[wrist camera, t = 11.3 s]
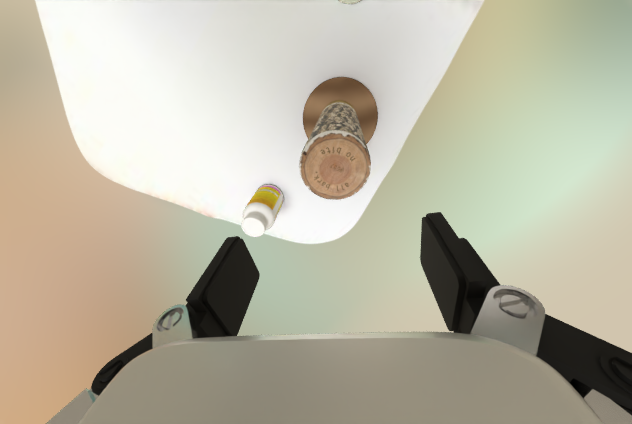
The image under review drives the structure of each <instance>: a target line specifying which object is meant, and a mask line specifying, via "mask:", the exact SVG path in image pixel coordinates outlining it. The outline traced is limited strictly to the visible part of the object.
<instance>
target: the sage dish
mask: <svg viewBox="0 0 632 424" xmlns="http://www.w3.org/2000/svg"><path fill="white" fill-rule="evenodd" d="M339 1H340V2H342V3H345V4H354V3H358V2H360V1H362V0H339Z"/></svg>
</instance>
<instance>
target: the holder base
mask: <svg viewBox="0 0 632 424" xmlns="http://www.w3.org/2000/svg"><path fill="white" fill-rule="evenodd" d="M337 100H342V101H346V102H348V103H349V104H351V105H352V106H353V108H354V109H355V111H356V114H357V117H358V120H359V123H360V126H361V130H362V133H363V136H364V139H365V142H366V144H367V143H368V142H369V140H370V139H371V137H372V136H373V134H374V131H375V129H376V125H377V119H378V112H377V106H376V102H375V100H374V97H373V96H372V94H371V92H370V91H369V90H368V89H367V88H366V87H365V86H364V85H363V84H362V83H360V82H359V81H356V80H354V79H351V78H346V77H337V78H332V79H329V80H327V81H325V82H323V83H322V84H320V85H319V86H318V87H317V88H315V89H314V91H313V92H312V93H311V94H310V96H309V98H308V100H307V102H306V104H305V107H304V112H303V125H304V130H305V133H306V135H307V137H308V139H309V137H310V135H311V133H312V131H313V129H314V127H315V125H316V123H317V121H318V119H319V117H320V115H321V113H322V111H323V110H324V108H325V107H326V106H327V105H328V104H329V103H331V102H333V101H337Z"/></svg>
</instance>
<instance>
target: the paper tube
mask: <svg viewBox="0 0 632 424" xmlns="http://www.w3.org/2000/svg"><path fill="white" fill-rule="evenodd" d="M299 169H300V174H301V177H302V180H303V182H304V183H305V185H306V186H307V187H308V188H309V189H310V190H311V191H312V192H313V193H315V194H316V195H318V196H320V197H323V198H326V199H333V200H337V199H344V198H347V197H350V196H352V195H354V194H355V193H357V192H358V191H359V190H360V189H361V188H362V187H363V186H364V185H365V183H366V182H367V180H368V177H369V174H370V170H371V161H370V155H369V152H368V149H367V146H366V142H365V139H364V136H363V133H362V130H361V126H360V123H359V120H358V117H357V114H356V111H355V109H354V108H353V106H352V105H351V104H349V103H348V102H346V101H342V100H337V101H333V102H331V103H329V104H328V105H327V106H326V107H325V108H324V110H323V111H322V113H321V115H320V117H319V119H318V121H317V123H316V125H315V127H314V129H313V131H312V133H311V135H310V137H309V139H308V141H307V143H306V145H305V147H304V149H303V151H302V154H301V157H300V163H299Z"/></svg>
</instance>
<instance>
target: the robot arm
mask: <svg viewBox="0 0 632 424" xmlns="http://www.w3.org/2000/svg"><path fill="white" fill-rule="evenodd" d="M421 233H422V234H421V256H420V257H421V264H422V267H423V270H424V272H425V275H426V277H427V279H428V282H429V284H430V287H431V289H432V292H433V294H434V296H435V299H436V301H437V303H438V306H439V308H440V311H441V313H442V316H443V318H444V321H445V323H446V325H447V327H448V329H449V331H454V333H451V332H450V333H449V332H371V333H330V334H329V333H328V334H292V335H291V334H290V335H258V336H237V334H238V332H239V329H240V326H241V324H242V321H243V319H244V316H245V314H246V311H247V308H248V306H249V303H250V300H251V298H252V295H253V293H254V290H255V288H256V285H257V282H258V280H259V271H258V269H257V267H256V265H255V263H254V261H253V259H252V257H251V255H250V253H249V251H248V249H247V247H246V245H245V243H244V241H243V239H240V237H238V236H236V237H228V238H227V239H226V240H225V242H224V243H223V244H222V246H221V248H220V249H219V251H218V252H217V254H216V255H215V257H214V258H213V260H212V261H211V263H210V264H209V266H208V267H207V269H206V270H205V272H204V273H203V275H202V276H201V278H200V279H199V281H198V282H197V284H196V285H195V287H194V288H193V290H192V291H191V293H190V294H189V296H188V297H187V299H186V301H187V302H188V303H187V304H186V306H185V305H175V306H173V307H171V308H169V309H167V310H166V311H164V312H163V313H162V314H161V315H160V316H159V317H158V319H157V320H156V321H155V323H154V325H153V329H152V330H153V331H152V333H151V334H150V335H148V336H147V337H145V338H144V339H142V340H141V341H139V342H138V343H136V344H135V345H133V346H132V347H130V348H129V349H127V350H126V351H124V352H123V353H121V354H119V355H118V356H116V357H115V358H113V359H112V360H111V361H110V362H108V363H107V364H106V365H105V366H104V367H103V368H102V369H101V370H100V371H99V373H98V374H97V375H96V377H95V379H94V381H93V383H92V386H91V389H90V390H88V389H87V388H86V389H85V390H84V391H82V392H81V393H80V394H79V395H78V396H77V397H76V398H74V399H73V400H72V401H71V402H70V403H69V404H68V405H67V406H65V407H64V408H63V409H62V410H61V411H60V412H59V413H57V414H56V415H55V416H54V417H53V418H52V419H51V420H49V422H47V423H46V424H632V353H630V352H628V351H626V350H624V349H621V348H619V347H617V346H615V345H612V344H610V343H608V342H606V341H604V340H602V339H599V338H597V337H595V336H593V335H590V334H588V333H586V332H584V331H582V330H580V329H577V328H575V327H573V326H571V325H569V324H566V323H564V322H562V321H560V320H557V319H555V318H553V317H551V316H549V315H547V314H545V309H544V307H543V305H542V303H541V302H540V301H539V300H538V299H537V298H536V297H535V296H533V295H532V294H530V293H528V292H527V291H525V290H522V289H520V288H517V287H513V286H506V285H500V284H499V282H498V281H497V280H496V278H495V277H494V276H493V274H492V273H491V272H490V270H489V269H488V268H487V266H486V265H485V263H484V262H483V261H482V259H481V258H480V257H479V255H478V254H477V253H476V251H475V250H474V249H473V247H472V246H471V245H470V243H469V242H468V241H467V240H466V239H465V238H458V236H457V235H456V234H455V232H454V231H453V229H452V228H451V226H450V225H449V224H448V222H447V221H446V219H445V218H444V216H443V215H442V214H441V212H437V213H429V214H427V215H426V217H423V218H422V232H421Z"/></svg>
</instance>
